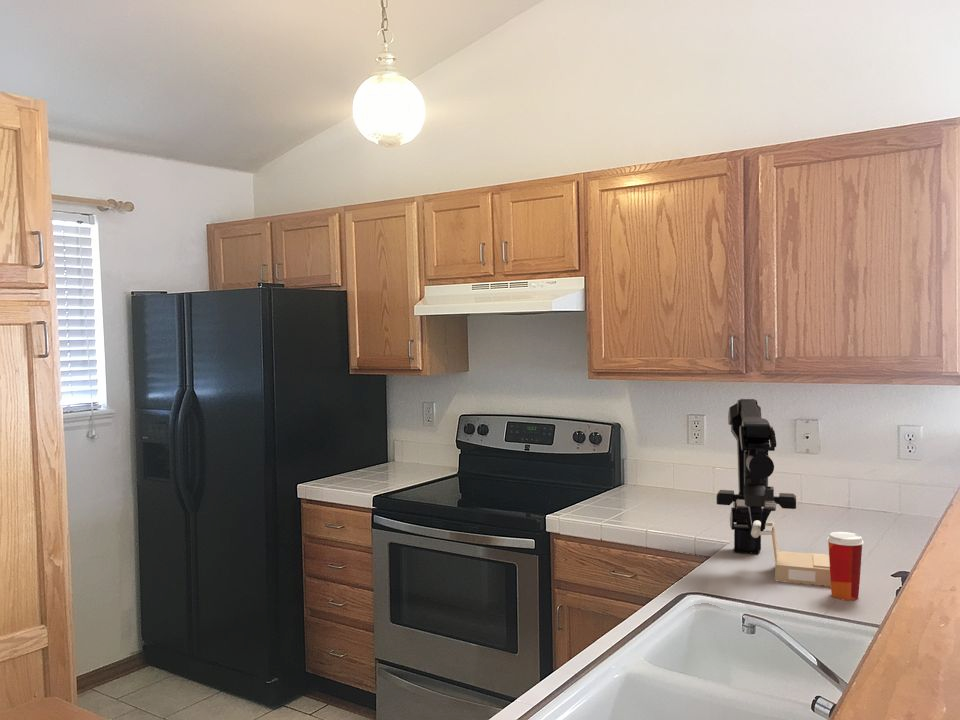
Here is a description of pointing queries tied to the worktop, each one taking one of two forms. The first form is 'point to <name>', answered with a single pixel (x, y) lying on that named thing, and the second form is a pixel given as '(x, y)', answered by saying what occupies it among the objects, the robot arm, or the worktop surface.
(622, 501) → the worktop surface
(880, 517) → the worktop surface
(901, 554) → the worktop surface
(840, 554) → the paper cup
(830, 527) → the worktop surface
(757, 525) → the flap
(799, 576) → the carton
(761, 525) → the robot arm
